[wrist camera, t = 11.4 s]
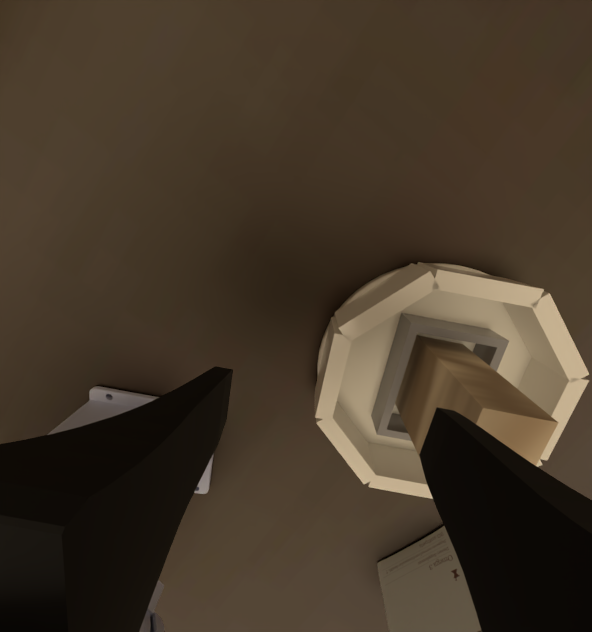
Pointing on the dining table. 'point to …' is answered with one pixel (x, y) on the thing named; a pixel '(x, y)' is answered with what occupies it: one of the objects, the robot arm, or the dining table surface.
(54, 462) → the robot arm
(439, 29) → the dining table surface
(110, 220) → the dining table surface
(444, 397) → the tan wooden block
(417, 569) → the supplement box
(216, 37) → the dining table surface
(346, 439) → the octagonal cream tray
